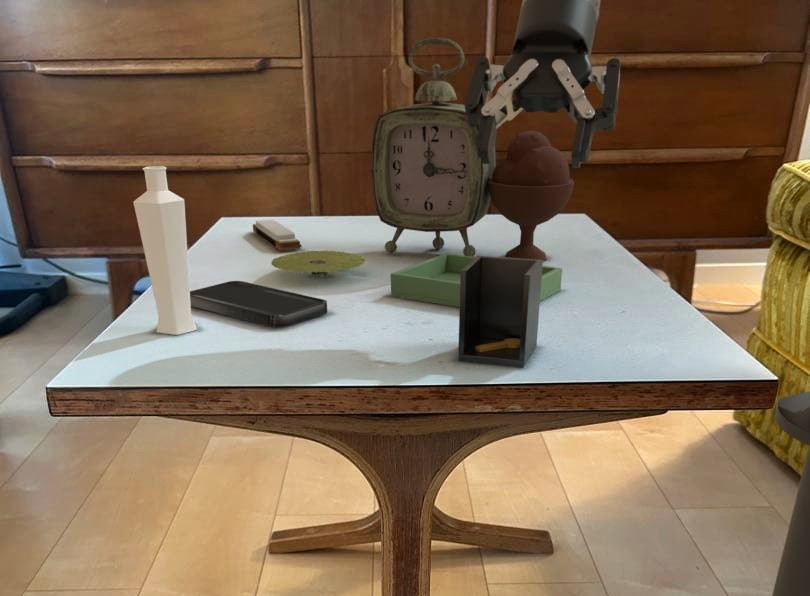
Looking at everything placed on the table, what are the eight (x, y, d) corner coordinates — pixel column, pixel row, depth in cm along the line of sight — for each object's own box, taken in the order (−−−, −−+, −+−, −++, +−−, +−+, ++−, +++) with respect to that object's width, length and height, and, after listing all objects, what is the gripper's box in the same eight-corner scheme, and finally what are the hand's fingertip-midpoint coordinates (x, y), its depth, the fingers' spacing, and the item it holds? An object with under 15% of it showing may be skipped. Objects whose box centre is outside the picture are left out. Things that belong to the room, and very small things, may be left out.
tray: (560, 290, 100) (562, 268, 99) (512, 316, 91) (514, 291, 90) (445, 273, 107) (445, 252, 106) (390, 296, 98) (390, 273, 97)
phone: (277, 317, 87) (181, 293, 95) (278, 329, 87) (182, 303, 95) (332, 301, 92) (236, 279, 100) (332, 311, 92) (237, 289, 101)
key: (515, 341, 82) (516, 336, 82) (526, 346, 80) (527, 342, 80) (472, 348, 80) (472, 344, 80) (482, 353, 79) (483, 349, 78)
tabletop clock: (373, 256, 116) (368, 38, 103) (393, 242, 123) (391, 37, 111) (480, 262, 112) (488, 37, 100) (494, 248, 120) (503, 37, 107)
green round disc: (373, 267, 110) (372, 251, 109) (355, 289, 101) (355, 272, 100) (286, 264, 112) (285, 249, 111) (260, 286, 102) (259, 269, 101)
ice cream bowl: (467, 259, 114) (471, 132, 106) (516, 245, 121) (523, 126, 114) (535, 272, 108) (545, 138, 100) (583, 256, 115) (595, 130, 108)
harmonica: (301, 250, 119) (300, 235, 118) (279, 252, 118) (278, 237, 117) (273, 231, 131) (272, 217, 130) (253, 232, 130) (251, 218, 129)
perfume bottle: (146, 327, 88) (121, 166, 81) (189, 320, 90) (168, 163, 83) (160, 338, 85) (135, 172, 78) (204, 331, 87) (183, 168, 79)
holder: (536, 347, 82) (542, 259, 78) (523, 367, 77) (530, 275, 73) (474, 341, 84) (477, 255, 80) (458, 361, 79) (460, 270, 75)
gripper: (482, -15, 84) (449, 130, 80) (634, -17, 80) (607, 135, 77) (491, 46, 91) (461, 182, 88) (631, 47, 87) (606, 189, 84)
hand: (529, 160), depth 82 cm, fingers open, 8 cm apart
